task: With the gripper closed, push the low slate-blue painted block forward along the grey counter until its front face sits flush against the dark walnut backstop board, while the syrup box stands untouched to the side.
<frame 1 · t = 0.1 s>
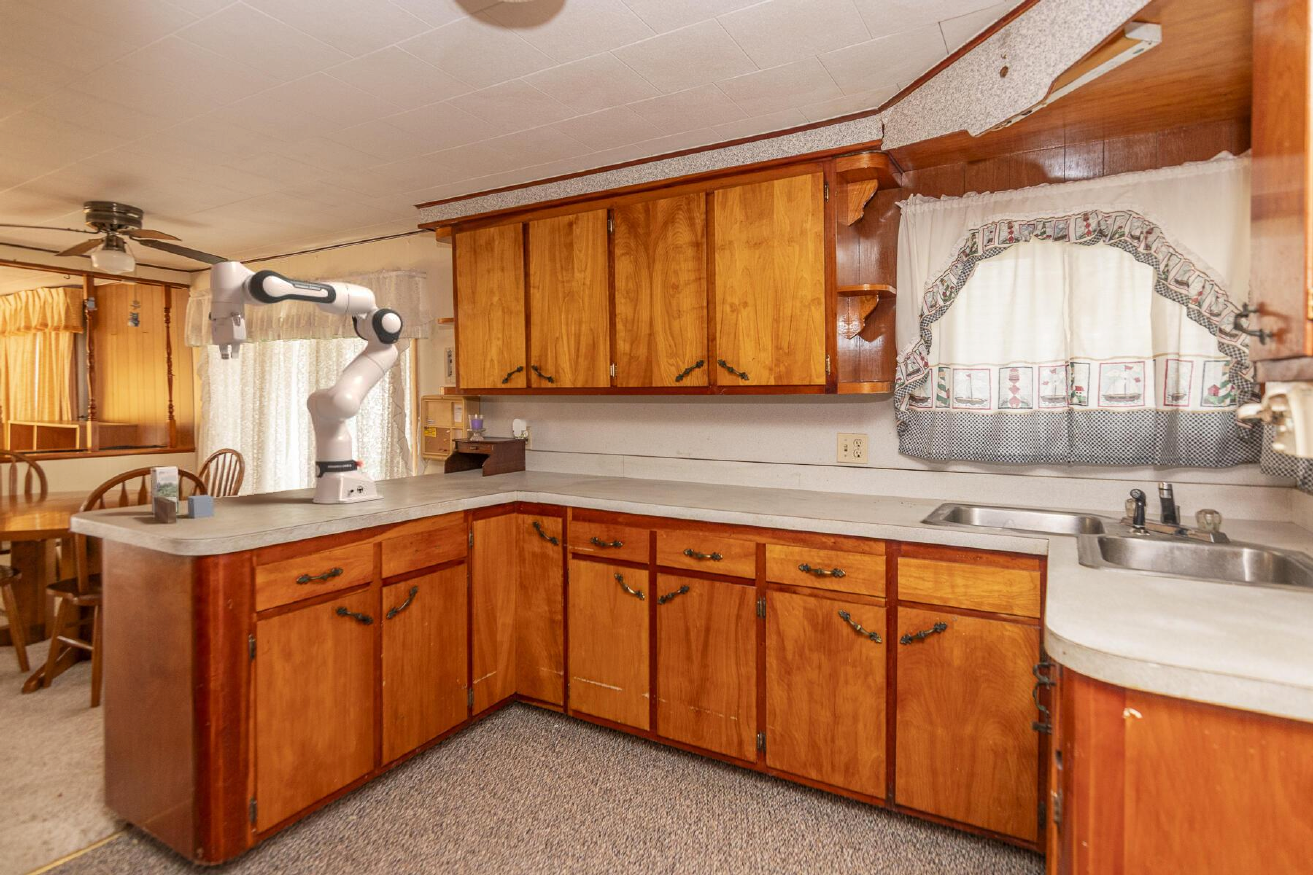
hand: (229, 358, 212), 48 cm above the counter, fingers open, 8 cm apart
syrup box: (165, 513, 213), on the counter
blue block: (201, 516, 208), on the counter
walnut board: (165, 519, 201), on the counter
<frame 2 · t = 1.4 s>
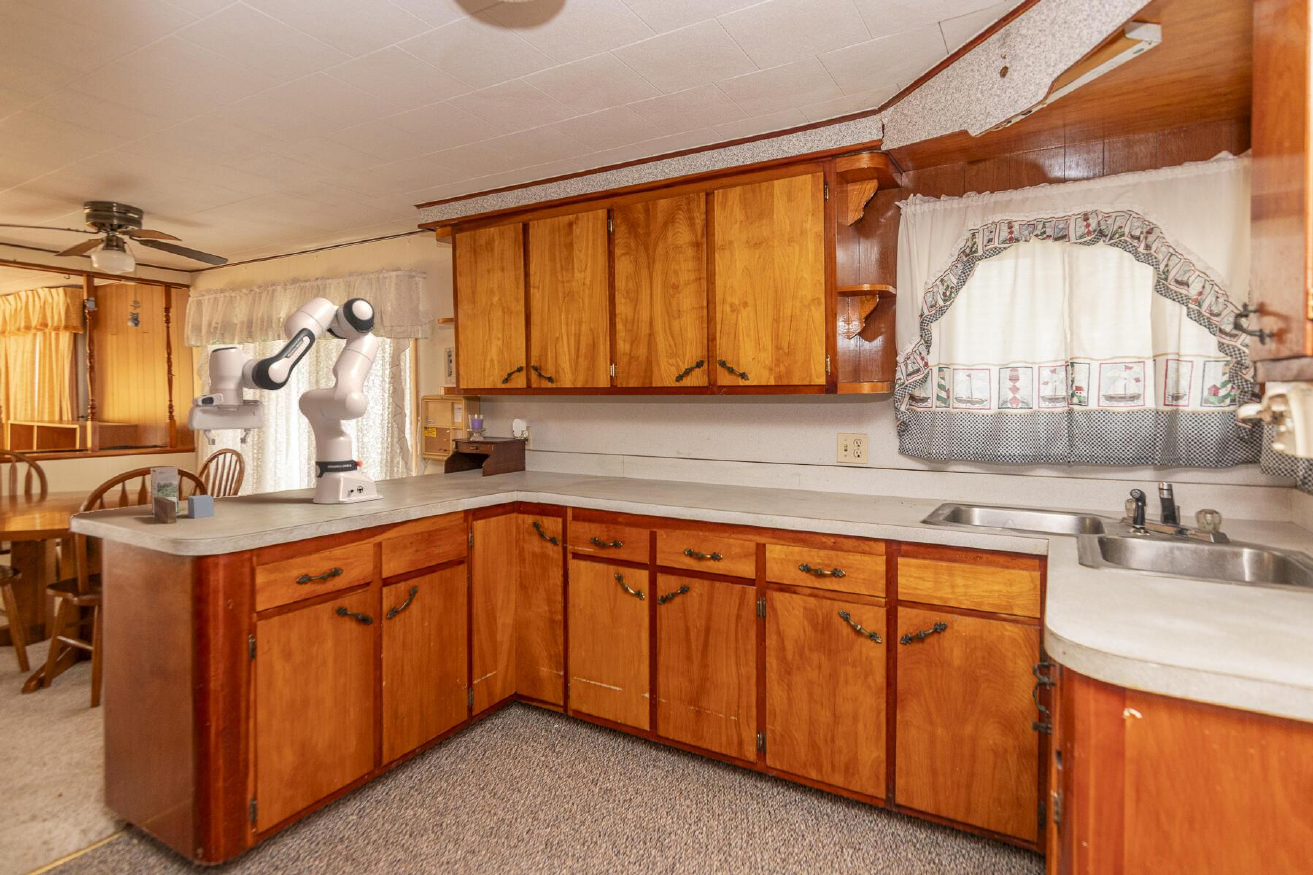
hand: (228, 444, 212), 21 cm above the counter, fingers open, 7 cm apart
nothing on the counter moved.
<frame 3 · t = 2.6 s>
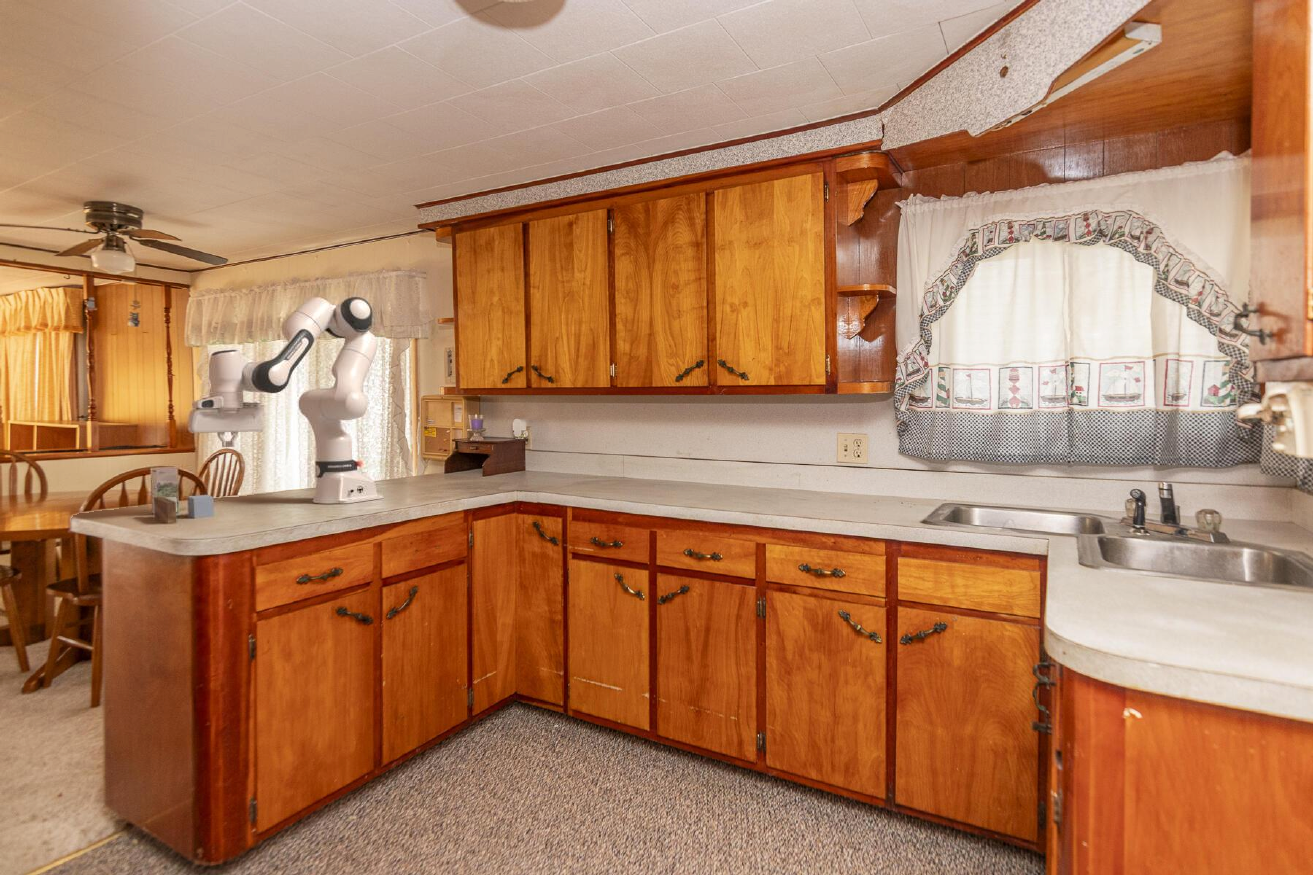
hand: (228, 447, 212), 21 cm above the counter, fingers closed
nothing on the counter moved.
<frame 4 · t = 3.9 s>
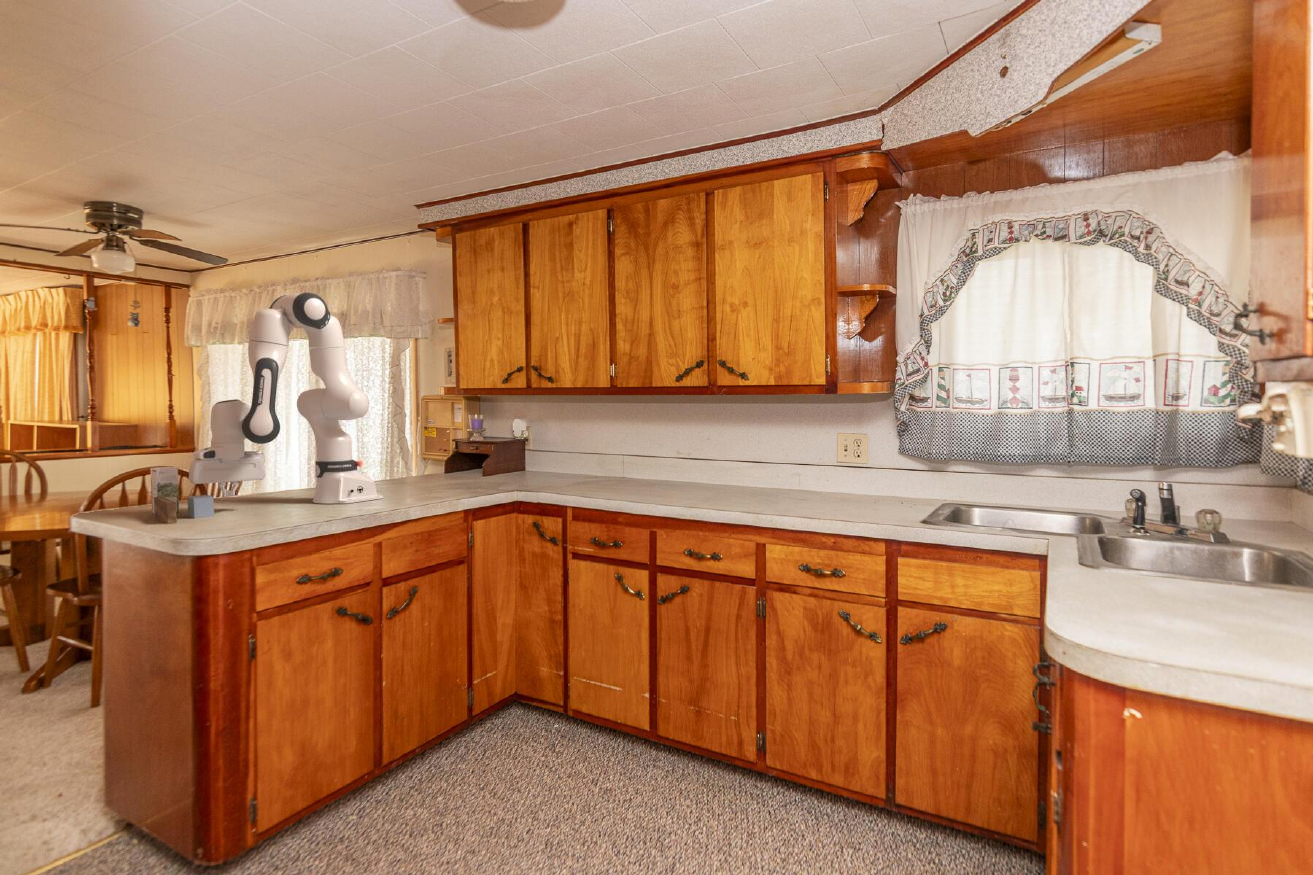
hand: (228, 496, 212), 5 cm above the counter, fingers closed
nothing on the counter moved.
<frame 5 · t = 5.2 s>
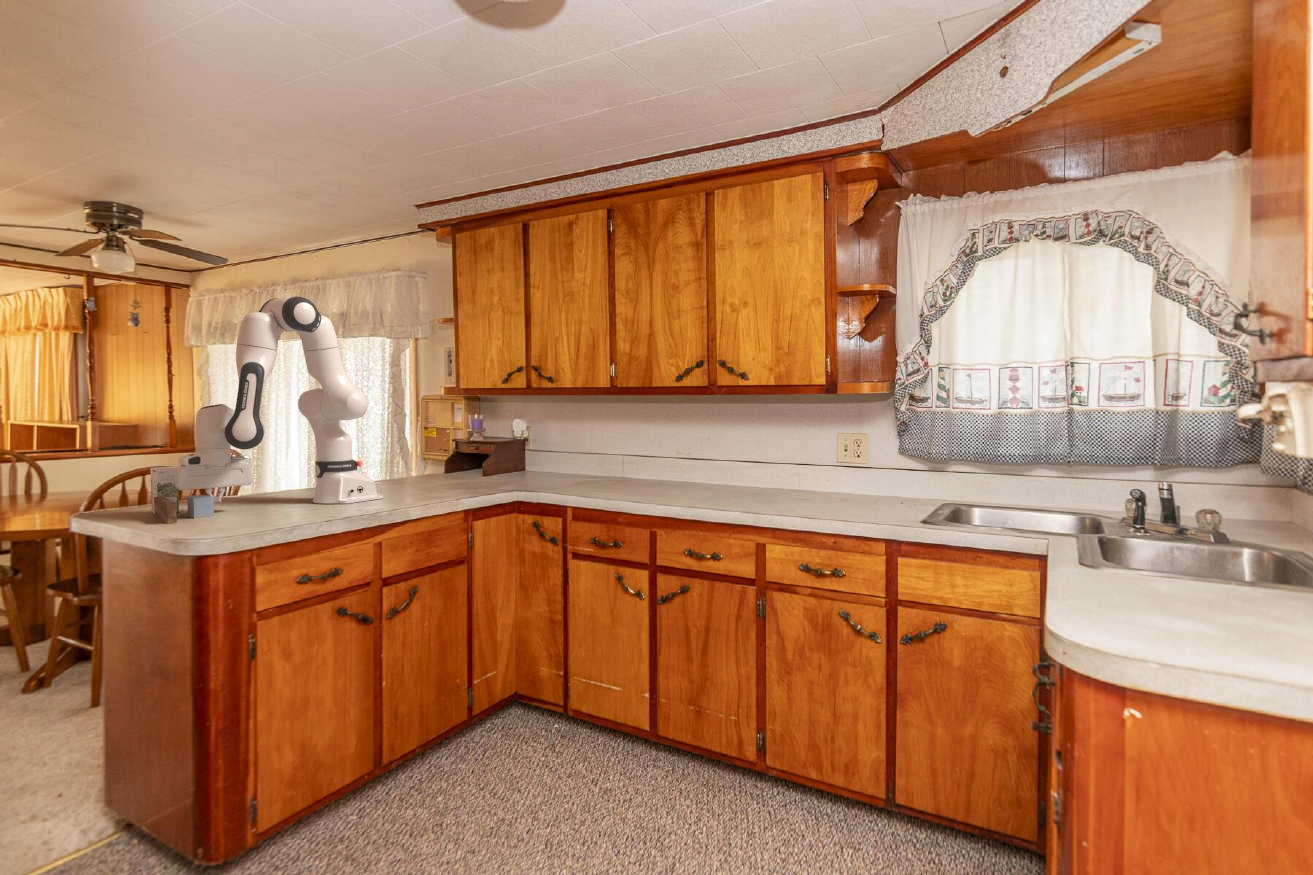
hand: (215, 502, 210), 4 cm above the counter, fingers closed
blue block: (200, 516, 208), on the counter, touching gripper
everything else where it was.
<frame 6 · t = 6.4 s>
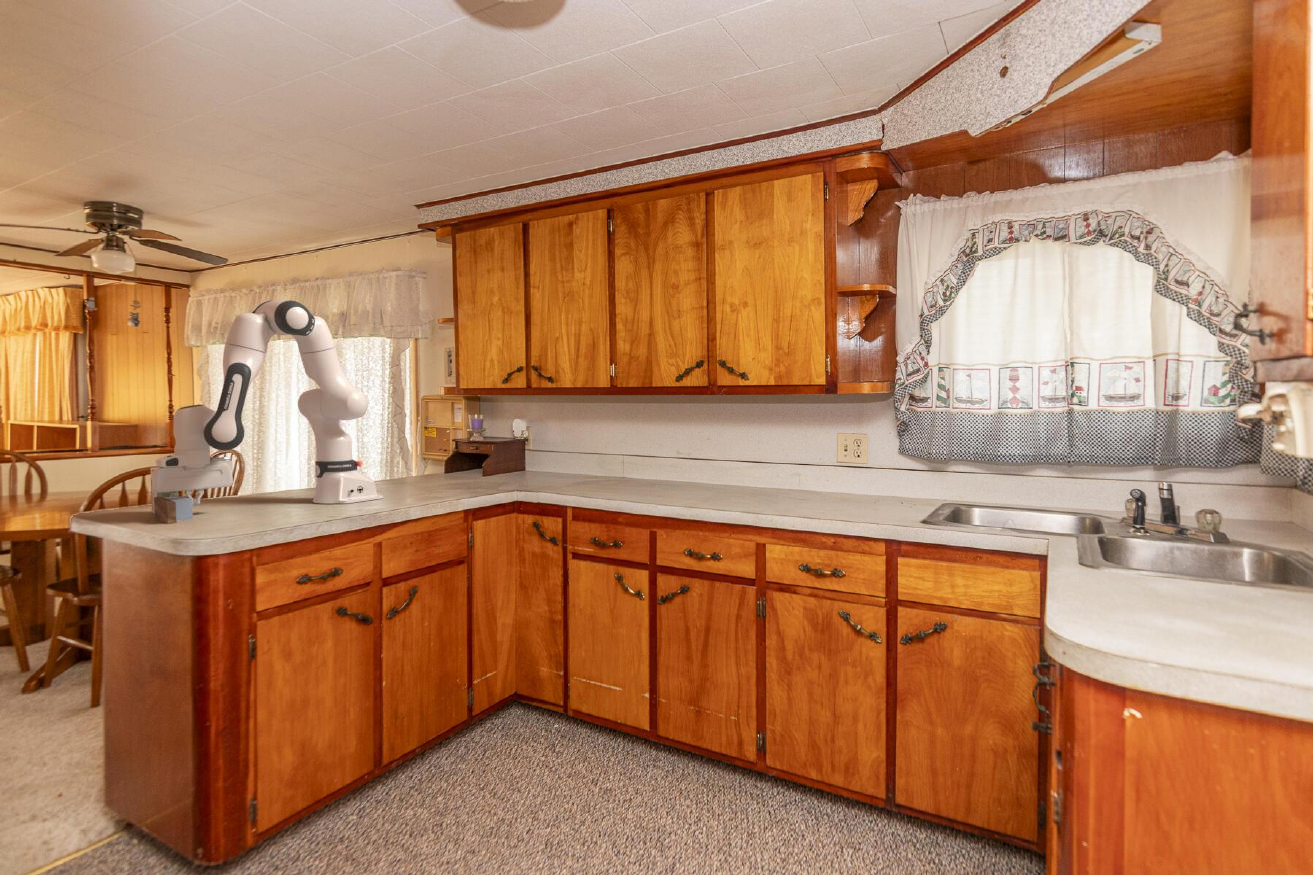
hand: (194, 504, 206), 4 cm above the counter, fingers closed
blue block: (179, 518, 204), on the counter, touching gripper, walnut board
everything else where it was.
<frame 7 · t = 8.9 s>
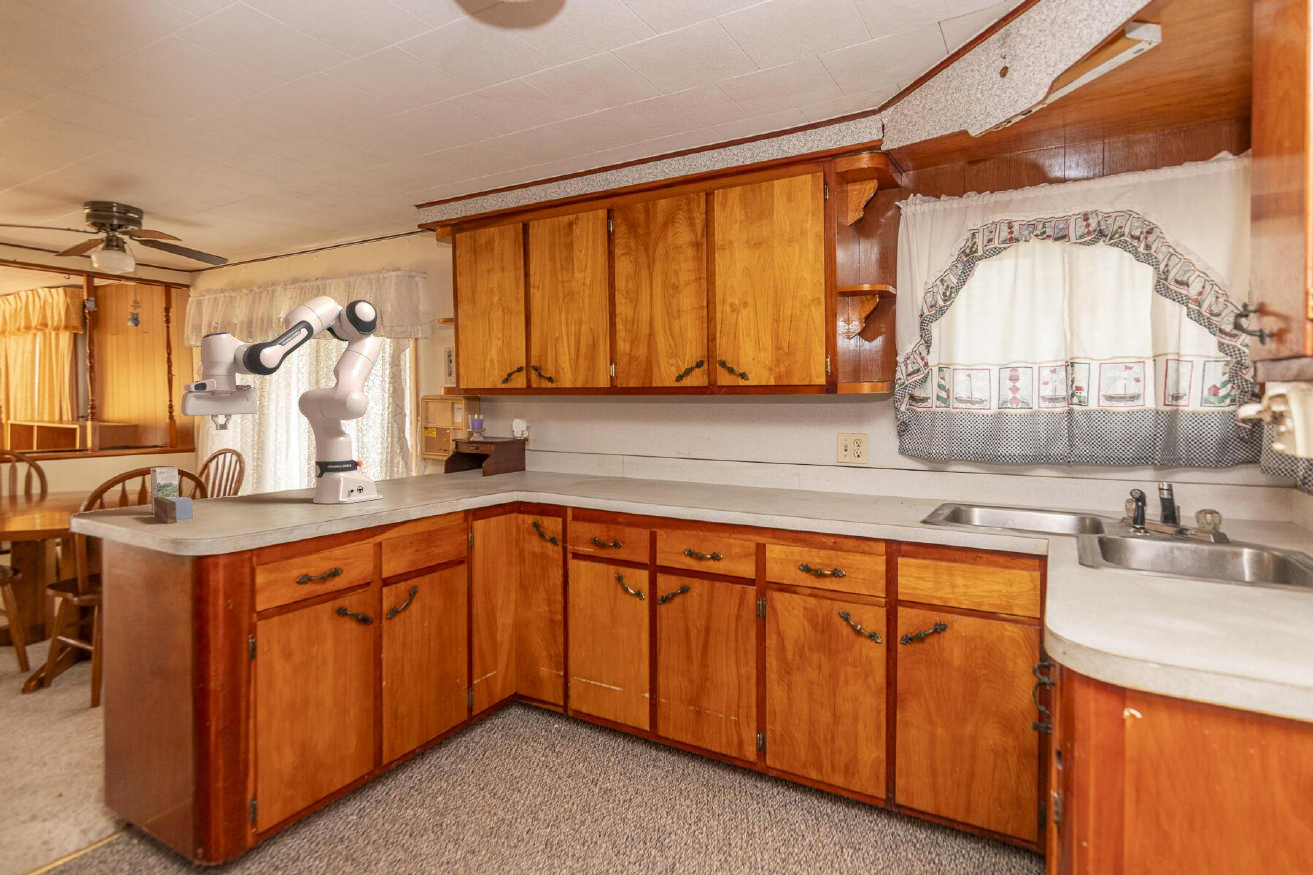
hand: (222, 429, 212), 26 cm above the counter, fingers closed
blue block: (179, 518, 204), on the counter
everything else where it was.
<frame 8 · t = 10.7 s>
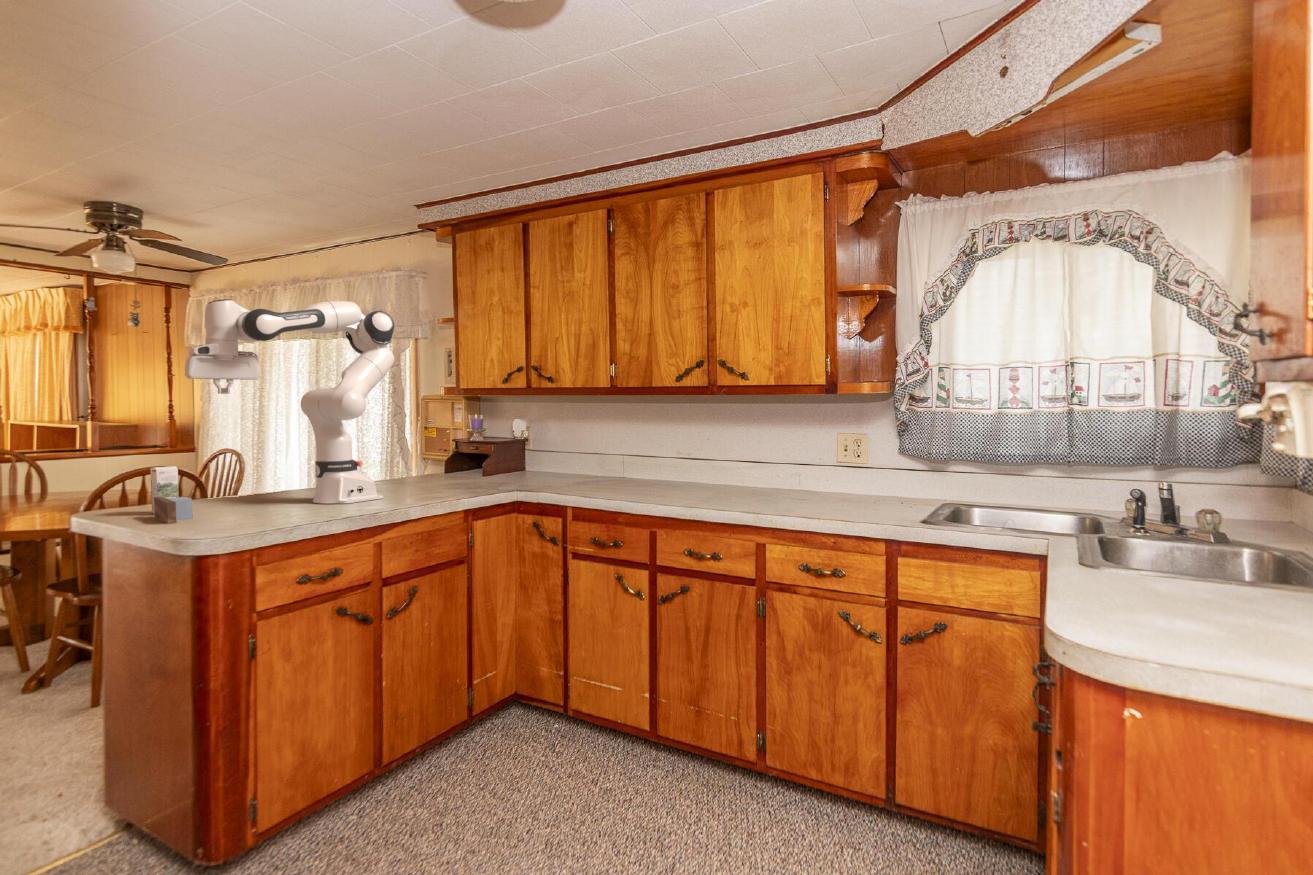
hand: (223, 393, 219), 37 cm above the counter, fingers closed
nothing on the counter moved.
at the end: blue block inside the target area on the counter beside the walnut board (1.0 cm from its centre), on the counter; blue block tilted 0° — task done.
